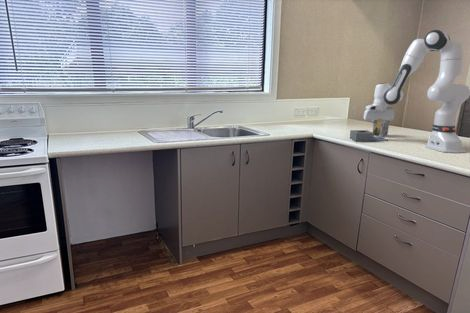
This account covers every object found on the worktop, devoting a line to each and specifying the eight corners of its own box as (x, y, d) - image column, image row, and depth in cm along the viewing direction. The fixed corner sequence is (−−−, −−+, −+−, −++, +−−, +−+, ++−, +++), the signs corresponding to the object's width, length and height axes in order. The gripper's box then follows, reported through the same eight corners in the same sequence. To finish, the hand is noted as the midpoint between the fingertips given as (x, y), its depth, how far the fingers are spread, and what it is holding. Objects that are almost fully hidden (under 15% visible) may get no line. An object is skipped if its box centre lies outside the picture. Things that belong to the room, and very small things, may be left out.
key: (378, 134, 240) (381, 117, 236) (379, 135, 236) (383, 119, 232) (372, 133, 240) (375, 117, 236) (373, 135, 236) (377, 118, 232)
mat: (387, 140, 232) (387, 139, 232) (373, 141, 232) (373, 139, 232) (379, 137, 244) (380, 136, 244) (366, 137, 244) (366, 136, 243)
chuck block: (373, 141, 229) (374, 133, 228) (355, 141, 229) (356, 133, 227) (366, 138, 241) (367, 130, 239) (349, 138, 241) (350, 130, 239)
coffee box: (372, 135, 254) (374, 113, 250) (378, 134, 256) (381, 113, 252) (381, 137, 245) (383, 115, 241) (387, 136, 248) (390, 114, 244)
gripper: (392, 106, 236) (390, 125, 239) (363, 106, 235) (361, 126, 239) (397, 107, 230) (394, 127, 233) (367, 107, 229) (365, 127, 233)
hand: (377, 126), depth 236 cm, fingers closed on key, 4 cm apart
